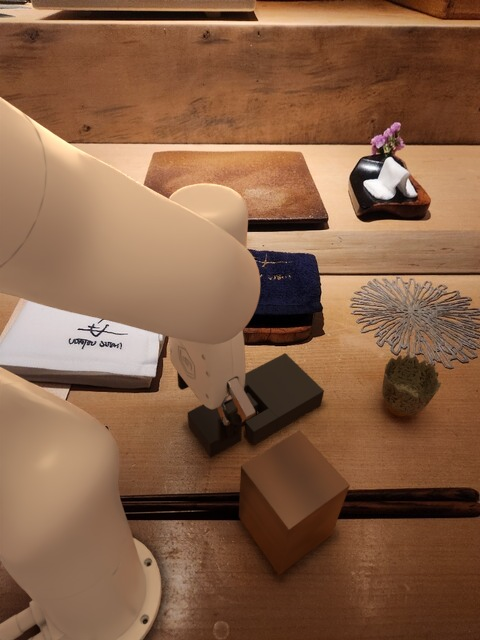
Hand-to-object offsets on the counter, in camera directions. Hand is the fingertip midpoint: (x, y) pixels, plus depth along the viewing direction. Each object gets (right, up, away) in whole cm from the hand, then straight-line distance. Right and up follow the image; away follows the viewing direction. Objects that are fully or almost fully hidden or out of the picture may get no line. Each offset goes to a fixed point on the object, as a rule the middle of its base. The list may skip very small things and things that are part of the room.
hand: (208, 408), depth 59 cm
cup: (+28, -2, +10) cm, 29 cm away
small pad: (+2, -4, +6) cm, 8 cm away
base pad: (+9, -1, +10) cm, 13 cm away
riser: (+9, -13, -4) cm, 17 cm away
